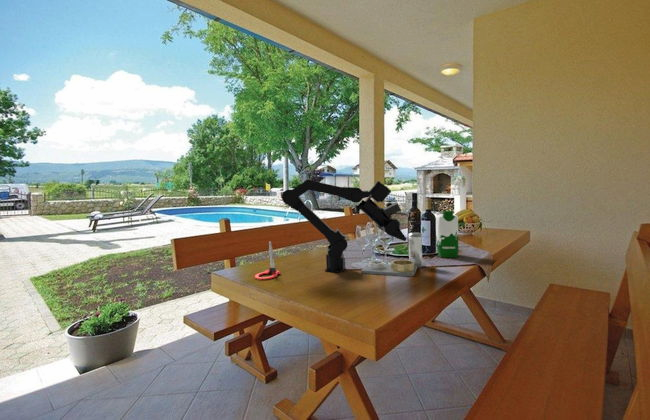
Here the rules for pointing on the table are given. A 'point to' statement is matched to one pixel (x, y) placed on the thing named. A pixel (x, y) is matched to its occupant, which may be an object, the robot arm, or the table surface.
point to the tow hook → (271, 269)
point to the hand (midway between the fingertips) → (402, 238)
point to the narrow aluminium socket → (376, 265)
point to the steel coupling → (415, 248)
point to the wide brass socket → (402, 266)
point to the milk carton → (447, 234)
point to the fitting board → (387, 271)
